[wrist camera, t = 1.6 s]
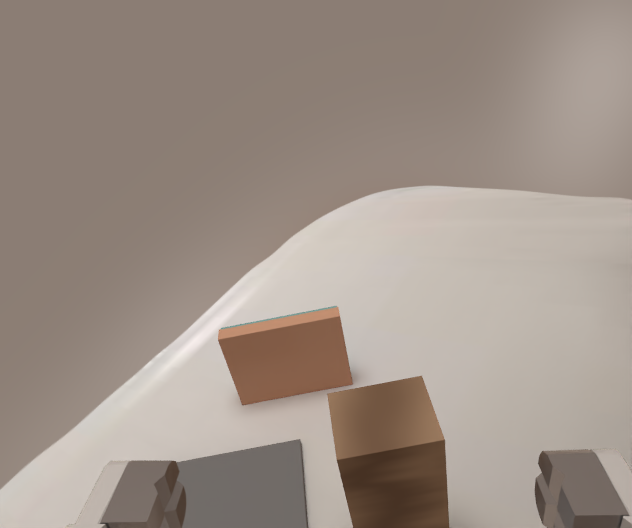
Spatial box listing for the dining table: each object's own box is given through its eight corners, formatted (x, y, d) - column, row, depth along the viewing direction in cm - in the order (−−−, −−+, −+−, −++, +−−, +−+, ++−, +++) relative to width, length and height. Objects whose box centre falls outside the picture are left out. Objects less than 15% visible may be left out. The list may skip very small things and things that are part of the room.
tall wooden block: (430, 512, 35) (418, 367, 27) (452, 584, 31) (444, 439, 23) (358, 525, 35) (326, 385, 27) (370, 599, 31) (336, 459, 23)
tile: (350, 372, 47) (337, 304, 42) (352, 384, 46) (339, 316, 41) (243, 392, 47) (219, 327, 43) (242, 405, 46) (217, 339, 41)
